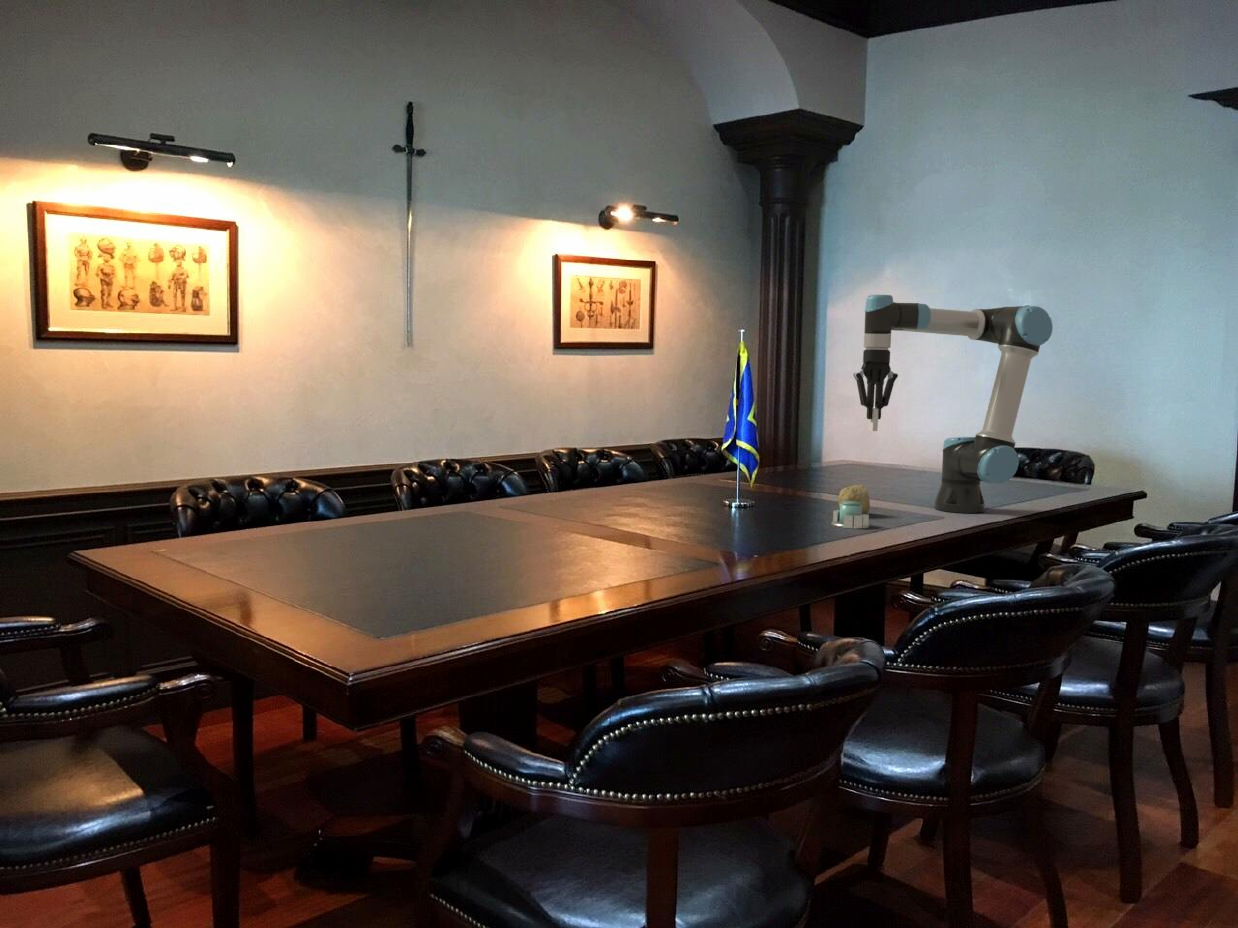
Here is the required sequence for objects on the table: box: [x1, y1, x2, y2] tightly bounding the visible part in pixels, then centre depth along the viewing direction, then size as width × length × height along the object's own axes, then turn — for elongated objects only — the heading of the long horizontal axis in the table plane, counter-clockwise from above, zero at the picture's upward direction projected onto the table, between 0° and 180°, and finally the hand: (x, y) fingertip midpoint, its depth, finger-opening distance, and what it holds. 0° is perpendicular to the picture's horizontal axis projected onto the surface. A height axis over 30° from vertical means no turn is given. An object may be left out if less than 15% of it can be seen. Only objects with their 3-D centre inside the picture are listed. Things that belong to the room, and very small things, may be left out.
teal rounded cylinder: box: [839, 501, 862, 524], centre depth 293 cm, size 6×6×6 cm
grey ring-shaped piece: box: [831, 509, 870, 530], centre depth 294 cm, size 10×10×4 cm
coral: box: [838, 483, 871, 515], centre depth 312 cm, size 10×10×10 cm
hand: (873, 430), depth 300 cm, fingers closed
